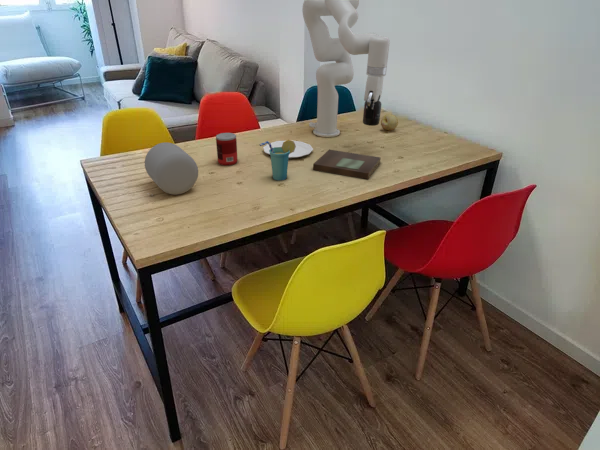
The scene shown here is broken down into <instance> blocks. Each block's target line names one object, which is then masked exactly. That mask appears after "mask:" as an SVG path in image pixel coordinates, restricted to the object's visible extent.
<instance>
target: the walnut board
mask: <svg viewBox="0 0 600 450" xmlns="http://www.w3.org/2000/svg"><path fill="white" fill-rule="evenodd" d="M380 164H381V157H380V156H375V155H374V156H373V155H366V154H361V153H355V152H350V151H349V152H348V151H342V150H337V149H336V150H335V149H328V150H327V151H326V152H324V154H323V155H321V157H319V158H318V159H317V160H316V161H314V163H313V164H312V169H313V171H318V172H323V173H329V174H334V175H341V176H346V177H351V178H358V179H364V180H369V179H370V178H371V176H372V175H373V174H374V172H375V171H376V169H378V167H379V166H380Z"/></svg>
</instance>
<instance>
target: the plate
mask: <svg viewBox="0 0 600 450" xmlns="http://www.w3.org/2000/svg"><path fill="white" fill-rule="evenodd" d="M287 140H288V139H286V140H275V141H273V142H272V141H271V142H270V143H271V146H272V148H274V147H282V145H283V142H285V141H287ZM290 140H291V141H294V143H295V146H296V147H295V150H294V152H292V153H290V154H289V158H288V159H297V158H301V157H305V156H308V155H310V154H311V153H312V152H313V151H314V148H313V147H312V145H311V144H310V143H306V142H304V141H300V140H299V141H298V140H294V139H293V140H292V139H290ZM262 149H263V152H264V154H266V155H267V154H268V155H270V153H269V150H270V147H269V144H265V145H263V147H262Z"/></svg>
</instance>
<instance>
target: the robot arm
mask: <svg viewBox="0 0 600 450" xmlns="http://www.w3.org/2000/svg"><path fill="white" fill-rule="evenodd" d="M359 4H360V0H303V3H302V10H301V11H302V18H303V21H304V24H305V26H306V28H307V31H308V33H309V34H308V35H309V38H310V42H311V47H312V51H313V54H314V57H315V59H316V61H318V62H320V63H324V64H321V65H319V66H318V68H317V69H316V72H315V79H316V84H317V86H316V87H317V103H316V105H317V106H316V107H317V109H316V122H312V121H309V123H308V126H309V128H311V129H312V128H313V130H312V132H313V134H314V136H318V137H321V138H333V137H334V138H335V137H337V136H340V133H341V131H340V129H339V128H338V113H339V112H338V111H339V93H338V90H337V89H336V86H341V85H346V84H347V85H348V84H350V83H351V82H352V81H353V79H354V72H355V71H354V66H353V62H352V57H351V56H358V55H367V63H366V64H367V65H366V73H365V74H366V76H367V78H366V81H365V90H364V95H363V101H364V102H365V101H367V106H366V115H365V118H367V119H373V116H374V104H375V102H376V101H377V100H378V98H379V95H380V98H381V97H382V94H383V86H384V77H386V76H387V69H388V60H389V59H388V58H389V52H390V43H391V42H390V38H389V37H387V36H384V35H379V34H378V33H376V32H375V33H374V32H365V33H354V32H353V31H352V30H351V28H353V27H354V26H355V24H357V22H358V19H359V13H358V11H357V9H358V7H359ZM328 16H329V17H330V16H331V17H332V18H333V19H334V20H335V22H336V23H337V24H338V28H337V35H338V37H335V38H333V37H331V35H330V31H329V27H328V26H327V24H326V22H325V21H324V20H323V19H322V18H321V17H328ZM325 62H331V63H325ZM371 100H374V101H371ZM372 103H373V104H372Z"/></svg>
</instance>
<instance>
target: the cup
mask: <svg viewBox="0 0 600 450" xmlns="http://www.w3.org/2000/svg"><path fill="white" fill-rule="evenodd" d="M286 140H287V141H286ZM286 140H284V141H285V142H283V145H282V147H274V148H272V146H271V143H272V142H270V141H269V140H267V141H264V142H262V143H259V147H262V146H266V145H267V144H269V147H270V150H269V153H270V154H269V155H270V164H271V173H272V179H273V180H275V181H284V180H286V179H287V178H288V170H289V169H288V168H289V166H288V165H289V159H290V158H289V154H290V153H292V152H294V150H295V147H296V146H295V143H294V141H295V140H293V141H291V140H292V139H286Z"/></svg>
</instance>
